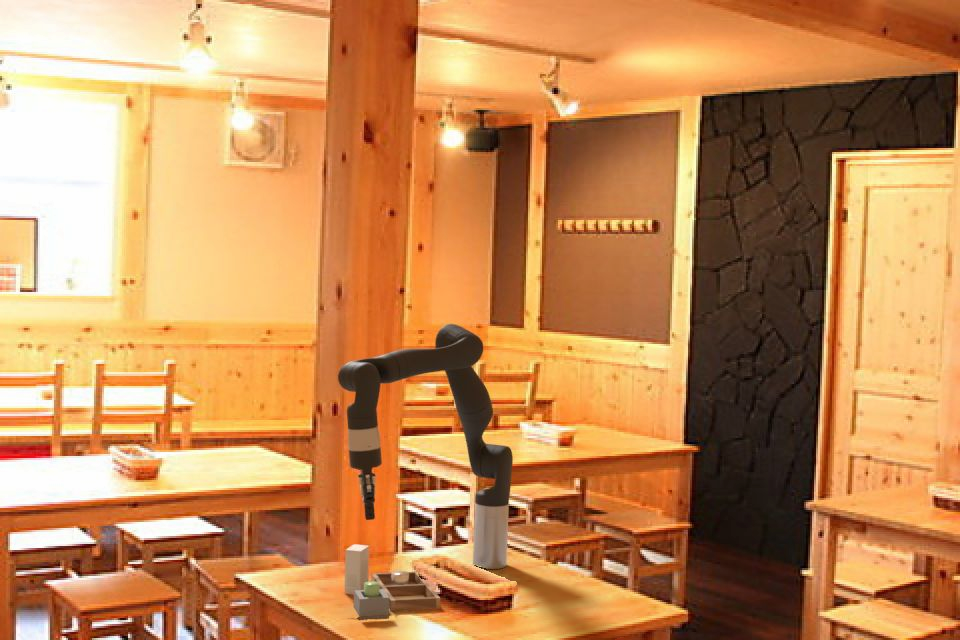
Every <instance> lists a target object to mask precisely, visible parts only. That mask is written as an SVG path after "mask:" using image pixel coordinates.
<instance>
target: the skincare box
mask: <svg viewBox="0 0 960 640" xmlns="http://www.w3.org/2000/svg"><path fill="white" fill-rule="evenodd" d="M344 552H345V558H344V559H345V561H344V562H345V563H344V564H345V565H344V566H345V567H344V594H345V595H346V594H347V595H353V596H354V590H364V583H365V582H369V576H370V575H369V572H370V571H369V569H370V567H369V566H370V545H365V544H358V543H357V544H356V543H354V544H352V545H350V546H349V547H348V548H347V549H345V551H344Z"/></svg>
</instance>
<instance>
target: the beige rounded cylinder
mask: <svg viewBox="0 0 960 640" xmlns="http://www.w3.org/2000/svg"><path fill="white" fill-rule="evenodd" d="M408 572H409V571H406V570H395V571H392V572H390V573H391V585H409V573H408Z"/></svg>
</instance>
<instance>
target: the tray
mask: <svg viewBox="0 0 960 640" xmlns="http://www.w3.org/2000/svg"><path fill="white" fill-rule="evenodd" d="M407 572H408V573H409V585H391V573H392V572H378V573H377V572H376V573H375V572H374V573H371V581H373V582H378V583H380V588H379V589H384V591H385V592H386V594H387V595H388V596H389V612H401V611H418V610H419V611H421V610H436V609H437V610H438V609H439V610H440V609H441V597H440V596H439V595H438V594H437V592H436V591H435V590H434V588H432V587H431V585H430V584H429V583H428V582H427V580H426V579H425V578H424V579H425V580H424V579H421V578H420V577H419V575H418V574H417V572H416V571H407Z"/></svg>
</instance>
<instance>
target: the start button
mask: <svg viewBox="0 0 960 640" xmlns="http://www.w3.org/2000/svg"><path fill="white" fill-rule="evenodd" d="M379 588H380V583H378V582H373V581H370V580H369V581H368V582H365V583H364V597H379Z"/></svg>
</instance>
